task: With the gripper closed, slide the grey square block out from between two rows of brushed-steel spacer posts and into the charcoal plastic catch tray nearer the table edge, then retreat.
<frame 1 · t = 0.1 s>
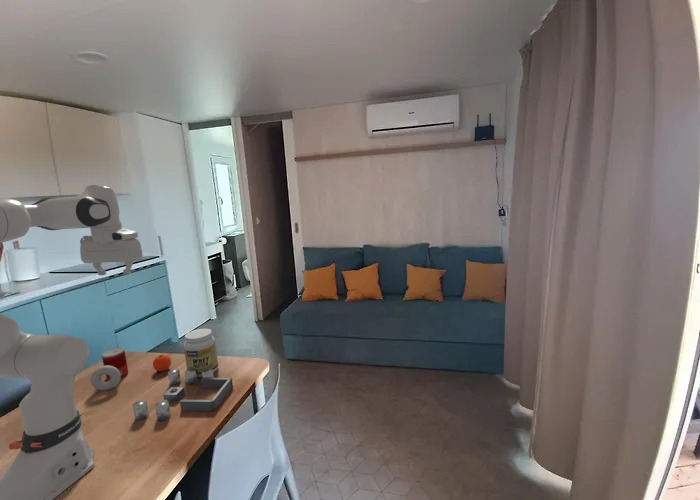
hand: (115, 274, 120), 48 cm above the table, fingers open, 8 cm apart
canned food: (117, 376, 148), on the table
donut: (108, 390, 137), on the table
clementine: (162, 370, 151), on the table
grey square block: (175, 398, 129), on the table
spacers: (177, 397, 129), on the table
supplement tub: (203, 371, 148), on the table
catch tray: (208, 397, 128), on the table
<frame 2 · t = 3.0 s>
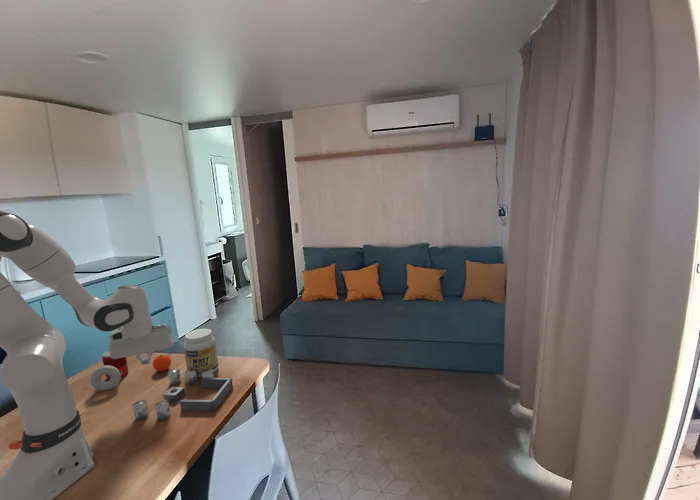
hand: (146, 363, 128), 13 cm above the table, fingers closed
nothing on the table moved.
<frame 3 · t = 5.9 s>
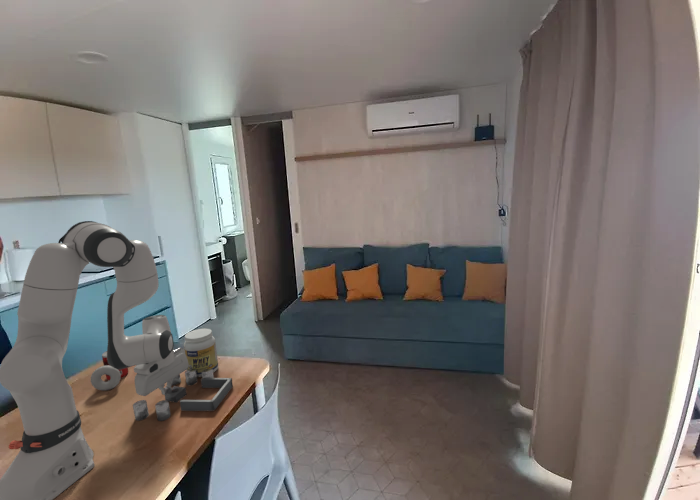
hand: (166, 392, 129), 2 cm above the table, fingers closed
nothing on the table moved.
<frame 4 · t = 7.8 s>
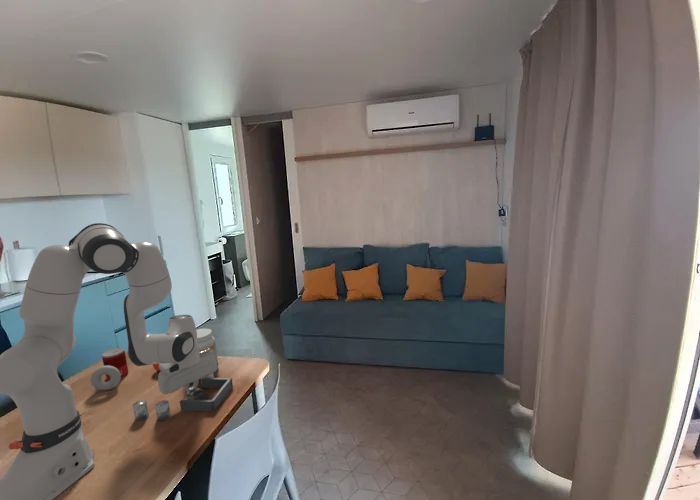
hand: (192, 392, 128), 2 cm above the table, fingers closed
grey square block: (197, 401, 126), on the table, touching gripper
everything else where it was.
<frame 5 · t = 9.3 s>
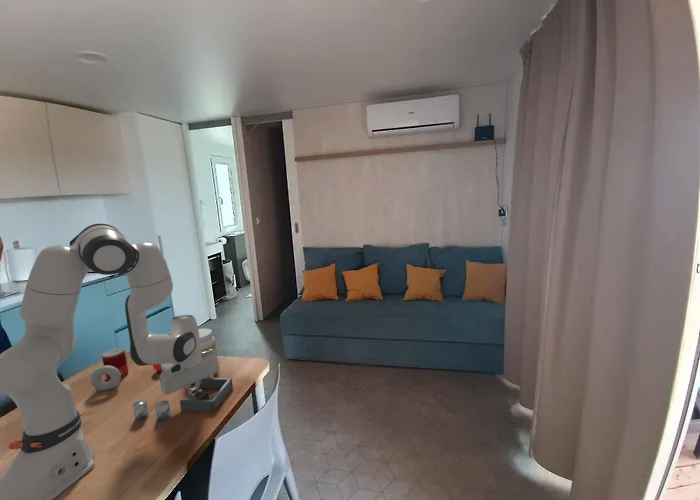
hand: (194, 393, 128), 2 cm above the table, fingers closed
grey square block: (199, 402, 126), on the table
everything else where it was.
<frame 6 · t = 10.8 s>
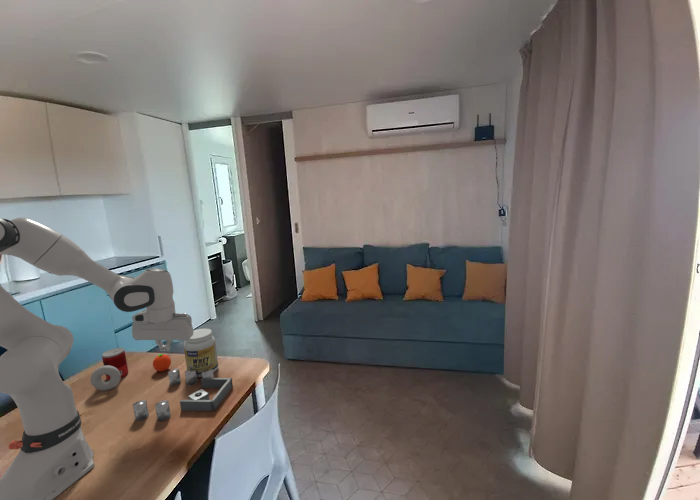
hand: (165, 350, 125), 19 cm above the table, fingers closed
nothing on the table moved.
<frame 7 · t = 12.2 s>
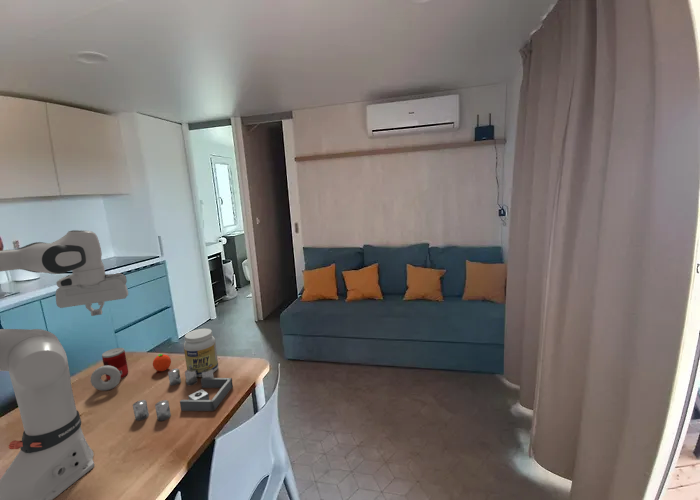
hand: (97, 314, 123), 34 cm above the table, fingers closed
nothing on the table moved.
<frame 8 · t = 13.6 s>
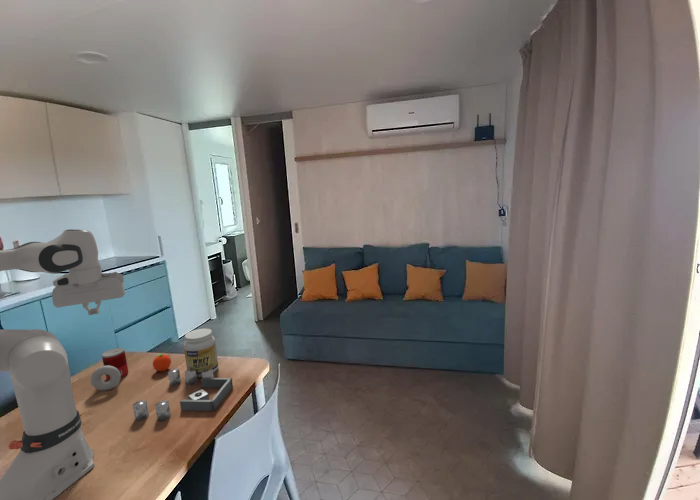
hand: (94, 313, 123), 34 cm above the table, fingers closed
nothing on the table moved.
at the end: grey square block inside the target area (3.0 cm from its centre), on the table; grey square block moved 11.0 cm from its start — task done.
